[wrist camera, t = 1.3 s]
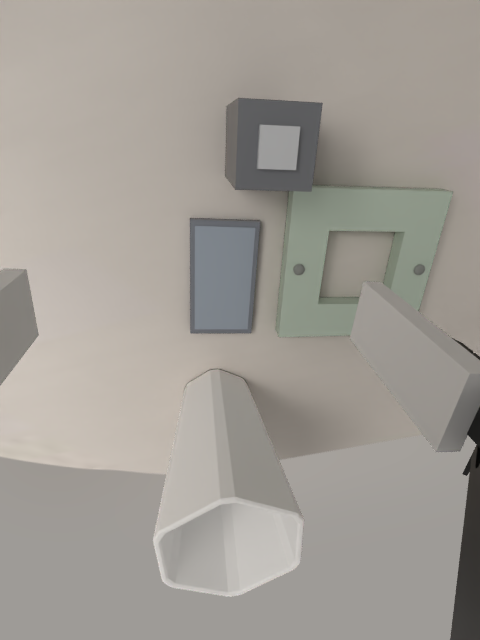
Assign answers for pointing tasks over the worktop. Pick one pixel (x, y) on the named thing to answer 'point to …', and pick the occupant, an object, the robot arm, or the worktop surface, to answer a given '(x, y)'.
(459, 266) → the worktop surface
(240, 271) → the phone
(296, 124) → the block
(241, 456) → the cup
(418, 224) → the outlet plate
